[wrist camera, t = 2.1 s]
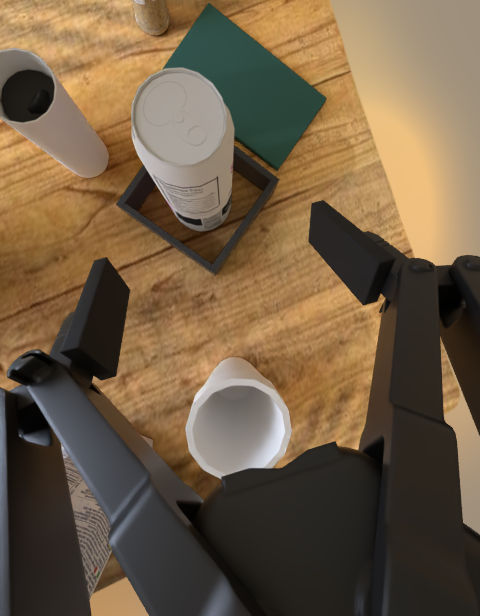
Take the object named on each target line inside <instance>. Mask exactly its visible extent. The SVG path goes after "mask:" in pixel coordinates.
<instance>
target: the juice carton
mask: <svg viewBox="0 0 480 616" xmlns="http://www.w3.org/2000/svg"><path fill="white" fill-rule="evenodd" d="M141 436H142V435H141ZM142 437H143V438H144V439H145V440H146V442H147V443H148V444H149V445H150V446H151V447H152V448H153V440H152V439H150V438H147V437H145V436H142ZM61 448H62V454H63V459H64V464H65V470H66V475H67V480H68V486H69V491H70V496H71V502H72V507H73V512H74V518H75V523H76V528H77V534H78V539H79V544H80V550H81V555H82V560H83V566H84V571H85V576H86V582H87V587H88V593H89V600H90V598H91V596H92V594H93V591H94V589H95V587H96V585H97V583H98V580H99V578H100V576H101V574H102V572H103V569H104V567H105V565H106V563H107V561H108V558H109V556H110V554H111V552H112V550H111V547H110V545H109V542H108V534H109V531H110V529H111V527H110V523H109V521H108V519H107V518H106V516H105V514H104V513H103V511H102V509H101V508H100V506H99V504H98V503H97V501H96V500H95V498H94V496H93V495H92V493H91V491H90V490H89V488H88V486H87V485H86V483H85V482H84V480H83V478H82V477H81V475H80V473H79V472H78V470H77V469H76V467H75V465H74V464H73V462H72V460H71V459H70V457H69V455H68V454H67V452H66V451H65V449H64V447H63V446H62V447H61Z"/></svg>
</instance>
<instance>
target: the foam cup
mask: <svg viewBox="0 0 480 616" xmlns="http://www.w3.org/2000/svg"><path fill="white" fill-rule="evenodd" d="M185 430H186V436H187V442H188V448H189V452H190V453H191V455H192V456H193V457H194V459H195V460H196V461H197V463H198V464H199V465H200V467H201V468H202V469H203V470H204V471H206V472H208V473H210V474H212V475H214V476H216V477H218V478H220V479H221V477H222V476H225V475H228V474H232V473H235V472H238V471H241V470H245V469H248V468H273V467H274V465H275V464H276V463H277V462H278V461H279V460H280V459H281V458H282V457H283V456H284V455H285V452H286V449H287V446H288V442H289V439H290V436H291V433H292V430H291V423H290V417H289V410H288V408H287V406H286V404H285V402H284V401H283V399H282V397H281V396H280V394H279V393H278V391H277V390H276V389H275V387H274V386H273V384H272V383H271V381H269V380H268V379H266V378H264V377H263V376H262V375H261V374H260V373H259V372H258V371H257V370H256V369H255V368H254V367H253V366H252V365H251V364H250V363H249V362H248V361H246V360H244V359H242V358H240V357H230V358H227V359H225V360H222V361H221V362H220V363H219V364H218V365H217V367H216V368H215V369H214V370H213V372H212V374H211V375H210V377H209V378H208V380H207V381H206V383H205V384H204V386H203V387H202V388H201V389H200V390H199V391H198V392H197V393H196V395H195V398H194V401H193V404H192V408H191V411H190V414H189V418H188V421H187V424H186V427H185Z"/></svg>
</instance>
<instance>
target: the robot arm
mask: <svg viewBox="0 0 480 616" xmlns="http://www.w3.org/2000/svg"><path fill="white" fill-rule="evenodd" d="M308 242H309V243H310V244H311V245H312V246H313V247H314V249H315V250H316V251H317V252H318V253H319V254H320V256H321V257H322V258H323V259H324V260H325V261H326V263H327V264H328V265H329V266H330V267H331V268H332V270H333V271H334V272H335V273H336V274H337V275H338V277H339V278H340V279H341V280H342V281H343V282H344V284H345V285H346V286H347V287H348V288H349V289H350V291H351V292H352V293H353V294H354V295H355V296H356V298H357V299H358V300H359V301H360V302H361V303H362V305H367V304H370V303H374V302H377V300H378V298H379V296H380V294H382V295H383V296H384V297H385V301H384V303H383V305H382V307H381V309H380V311H379V313H381V312H382V316H381V323H380V329H379V336H378V343H377V350H376V357H375V364H374V370H373V377H372V384H371V391H370V398H369V404H368V411H367V418H366V424H365V428H364V430H363V433H362V436H361V439H360V444H359V451H358V450H355V449H351V448H347V447H339V446H337V444H336V442H331V443H328V444H325V445H322V446H318V447H315V448H312V449H309V450H307V451H305V452H304V453H303V454H301V455H300V456H298V457H297V458H296V459H294V460H293V461H292V462H290V463H289V464H287V465H286V466H285V467H283V468H248V469H245V470H241V471H238V472H235V473H232V474H228V475H225V476H222V477H221V480H222V483H220V484H219V485H218V486H217V487H216V488H214V489H213V490H212V491H211V493H210V494H209V495H208V496H207V497H206V499H205V500H203V499H202V498H201V497H200V496H199V495H198V494H197V493H196V492H195V491H194V490H193V489H192V488H191V487H189V486H188V485H186V484H185V483H184V482H183V481H182V480H181V479H180V478H179V477H178V476H177V475H176V474H175V473H174V472H173V470H172V469H171V468H170V467H169V466H168V465H167V464H166V463H165V462H164V460H163V459H162V458H161V457H160V456H159V455H158V454H157V453H156V452H155V450H154V449H153V448H152V447H151V446H150V445H149V444H148V443H147V442H146V440H145V439H144V438H143V437H142V436H141V435H140V434H139V433H138V432H137V430H136V429H135V428H134V427H133V426H132V425H131V424H130V423H129V422H128V420H127V419H126V418H125V417H124V416H123V415H122V414H121V413H120V412H119V410H118V409H117V408H116V407H115V406H114V405H113V404H112V403H111V402H110V400H109V399H108V398H107V397H106V396H105V395H104V394H103V393H102V392H101V390H100V389H99V388H98V387H97V386H96V385H94V384H93V383H92V379H93V375H94V376H95V377H97V378H98V379H100V380H105V379H108V378H111V377H115V376H116V374H117V368H118V362H119V356H120V349H121V343H122V337H123V331H124V325H125V319H126V312H127V306H128V300H129V294H130V289H129V287H128V286H127V285H126V283H125V282H124V280H123V279H122V278H121V276H120V275H119V274H118V272H117V271H116V269H115V268H114V267H113V265H112V264H111V262H110V261H109V260H108V258H107V257H106V258H102V259H98V260H94V263H93V265H92V268H91V271H90V273H89V276H88V278H87V281H86V284H85V286H84V289H83V292H82V294H81V297H80V299H79V302H78V305H77V307H76V310H75V312H72V313H70V314H69V315H68V316H67V317H66V319H65V320H64V321H63V323H62V325H61V328H60V331H59V333H58V335H57V337H58V338H56V340H55V342H54V345H53V347H52V350H51V352H50V355H47V354H46V353H44V352H42V351H41V350H39V349H37V350H31V351H28V352H26V353H24V354H23V355H21V356H20V357H18V358H17V359H16V360H15V361H14V362H13V363H12V364H11V366H10V367H9V369H8V371H7V378H9V379H12V380H14V381H16V382H18V383H20V384H21V385H20V386H18V387H16V388H14V389H12V390H10V391H8V390H5V389H3V388H0V616H91V608H90V601H89V593H88V587H87V582H86V576H85V571H84V566H83V560H82V555H81V550H80V544H79V539H78V534H77V528H76V523H75V518H74V512H73V507H72V502H71V496H70V491H69V486H68V480H67V475H66V470H65V464H64V459H63V454H62V448H61V444H62V446H63V447H64V449H65V451H66V452H67V454H68V455H69V457H70V459H71V460H72V462H73V464H74V465H75V467H76V469H77V470H78V472H79V473H80V475H81V477H82V478H83V480H84V482H85V483H86V485H87V486H88V488H89V490H90V491H91V493H92V495H93V496H94V498H95V500H96V501H97V503H98V504H99V506H100V508H101V509H102V511H103V513H104V514H105V516H106V518H107V519H108V521H109V523H110V527H111V529H110V531H109V534H108V542H109V545H110V547H111V550H112V552H113V554H114V555H115V557H116V559H117V561H118V562H119V564H120V566H121V567H122V569H123V571H124V573H125V574H126V576H127V578H128V580H129V581H130V583H131V585H132V586H133V588H134V590H135V592H136V594H137V595H138V597H139V599H140V600H141V602H142V604H143V606H144V607H145V609H146V611H147V613H148V614H149V616H480V535H479V534H478V533H477V532H475V531H474V530H473V529H471V528H470V527H468V526H467V525H465V524H464V523H463V518H462V506H461V491H460V478H459V465H458V464H459V463H458V449H457V439H456V434H455V432H454V430H453V428H452V427H451V426H450V425H448V424H447V423H446V422H445V420H444V414H443V391H442V368H441V346H440V337H441V339H442V342H443V344H444V347H445V349H446V352H447V355H448V357H449V360H450V362H451V365H452V367H453V370H454V372H455V375H456V377H457V380H458V382H459V385H460V387H461V390H462V392H463V395H464V397H465V400H466V402H467V405H468V407H469V410H470V412H471V415H472V418H473V420H474V423H475V425H476V427H477V430H478V432H479V435H480V257H478V256H472V255H465V256H460V257H457V259H456V260H455V261H454V263H453V264H452V265H445V266H435V265H434V264H433V263H431V262H429V261H427V260H425V259H420V258H410V259H409V258H408V257H406V256H405V255H404V254H402V253H401V252H400V251H398V250H397V249H396V248H394V247H393V246H392V245H390V244H389V243H388V242H386V241H384V239H382V238H381V237H380V236H378V235H377V234H374V233H371V232H369V231H367V232H362V231H361V230H360V229H359V228H357V227H356V226H355V225H354V224H352V223H351V222H350V221H349V220H347V219H346V218H345V217H344V216H342V215H341V214H340V213H339V212H337V211H336V210H335V209H334V208H332V207H331V206H330V205H329V204H327V203H326V202H325V201H324V200H322V201H318V202H314V203H312V205H311V217H310V229H309V241H308ZM60 442H61V443H60Z"/></svg>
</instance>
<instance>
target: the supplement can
mask: <svg viewBox="0 0 480 616" xmlns="http://www.w3.org/2000/svg"><path fill="white" fill-rule="evenodd" d="M131 121H132V135H131V136H132V140H133V143H134V146H135V149H136V152H137V155H138V156H139V158H140V160H141V161H142V163H143V164H144V166H145V168H146V169H147V171H148V173H149V174H150V176H151V177H152V179H153V181H154V182H155V184H156V185H157V187H158V189H159V190H160V192H161V193H162V195H163V197H164V198H165V200H166V201H167V203H168V205H169V206H170V208H171V209H172V211H173V213H174V214H175V216H176V217H177V218H178V220H179V221H180V222H181V223H182V224H183V225H185V226H186V227H188V228H189V229H193V230H196V231H209V230H212V229H214V228H216V227H218V226H220V225H221V224H222V223H223V222H224V221H225V220H226V219H227V217H228V214H229V212H230V210H231V196H232V174H233V151H234V129H235V128H234V125H233V121H232V118H231V114H230V111H229V109H228V108H227V106H226V105H225V104H224V102H223V98H222V96H221V95H220V93H219V92H218V90H217V89H216V87H215V86H214V85H213V83H212V82H211V81H209V80H208V79H207V78H205V77H204V76H202V75H201V74H200V73H198V72H195V71H192V70H189V69H185V68H182V67H181V68H165V69H163V70H161V71H159V72H156V73H154V74H152V75H150V76H149V77H148V78H147V79H146V80H145V81H144V82H143V83H142V84H141V85H140V86H139V87H138V90H137V92H136V95H135V97H134V99H133V102H132V114H131Z"/></svg>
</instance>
